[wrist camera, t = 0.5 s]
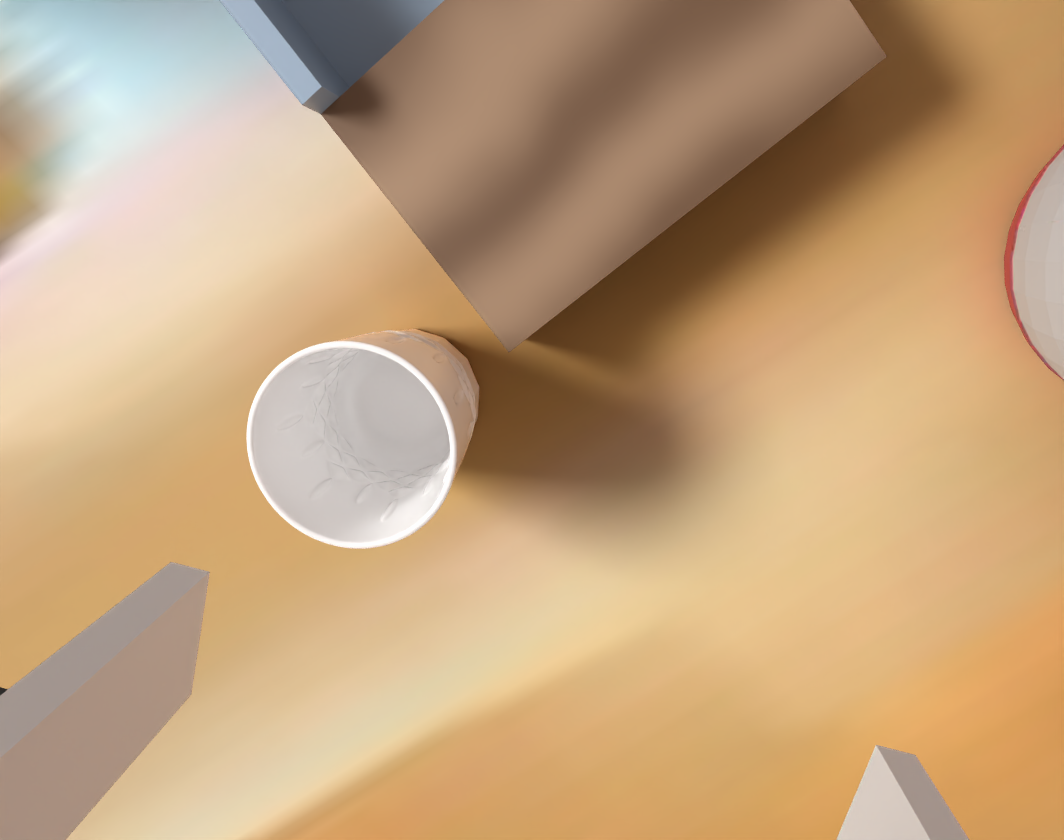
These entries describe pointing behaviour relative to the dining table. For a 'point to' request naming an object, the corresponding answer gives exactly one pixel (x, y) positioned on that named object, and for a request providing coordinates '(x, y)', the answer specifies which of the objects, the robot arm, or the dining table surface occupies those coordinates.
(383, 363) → the white cup
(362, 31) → the box
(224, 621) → the dining table surface
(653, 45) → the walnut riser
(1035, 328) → the citrus juicer
